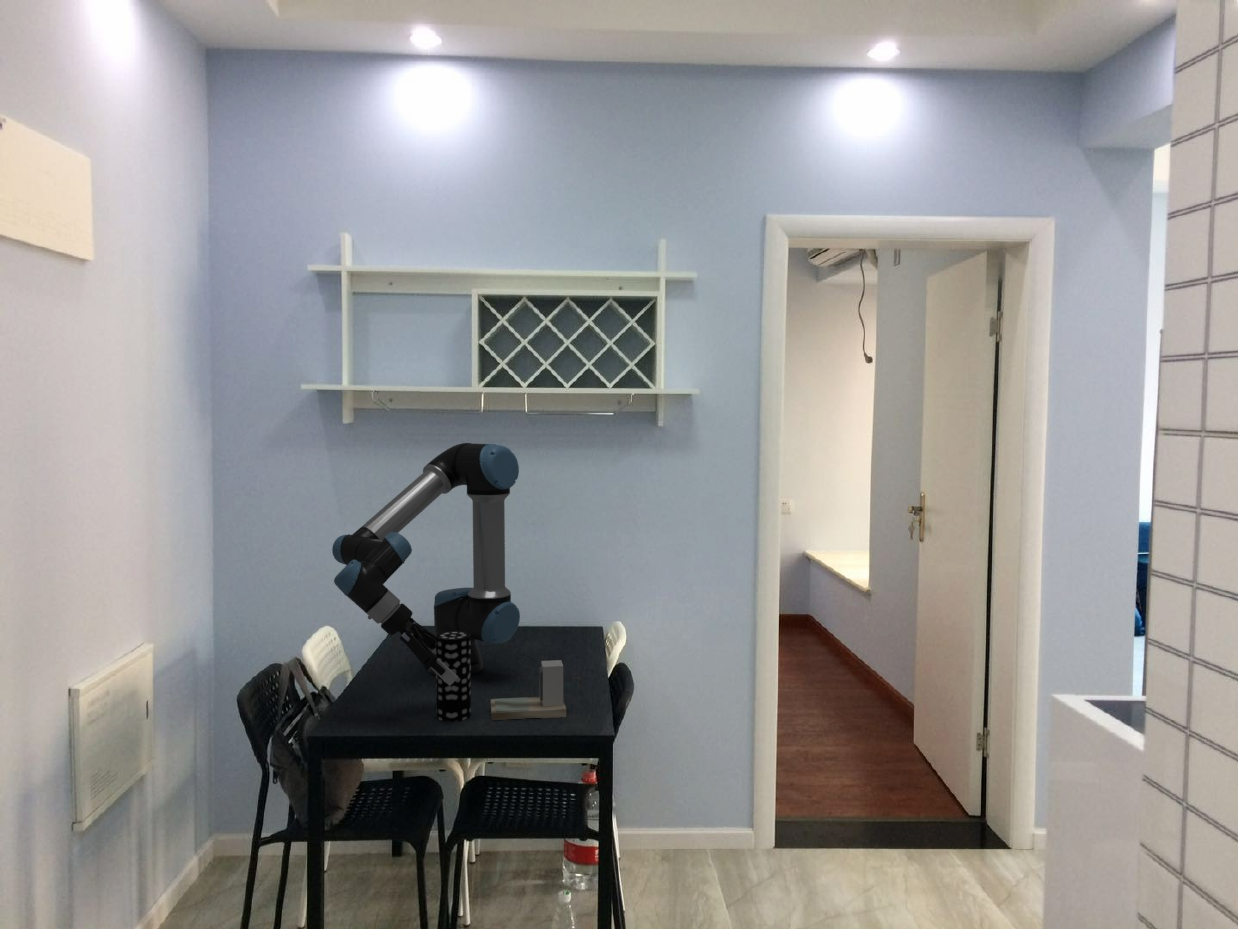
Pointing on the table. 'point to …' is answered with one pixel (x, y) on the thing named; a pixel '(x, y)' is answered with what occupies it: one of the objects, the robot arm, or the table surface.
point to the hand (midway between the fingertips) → (454, 673)
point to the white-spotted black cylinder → (457, 657)
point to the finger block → (551, 683)
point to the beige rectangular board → (524, 709)
